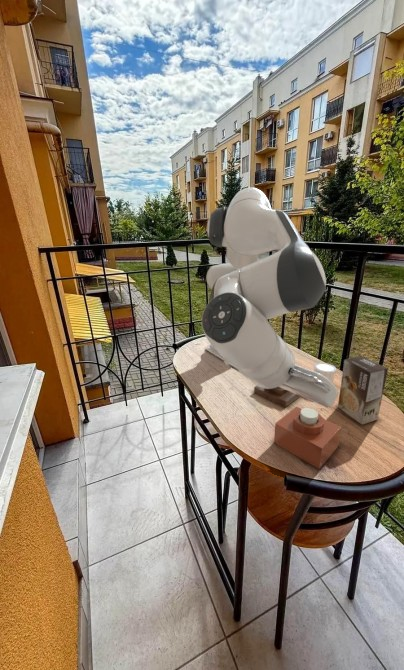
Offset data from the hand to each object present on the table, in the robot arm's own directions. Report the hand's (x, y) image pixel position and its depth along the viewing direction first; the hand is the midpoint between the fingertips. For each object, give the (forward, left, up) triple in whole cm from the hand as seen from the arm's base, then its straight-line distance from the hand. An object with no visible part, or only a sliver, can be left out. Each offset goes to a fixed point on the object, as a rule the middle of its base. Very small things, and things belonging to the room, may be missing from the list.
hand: (292, 388), depth 58 cm
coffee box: (+4, +30, -20) cm, 37 cm away
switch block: (-18, +23, -20) cm, 36 cm away
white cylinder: (-10, +38, -20) cm, 45 cm away
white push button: (0, +8, -13) cm, 15 cm away
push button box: (0, +8, -20) cm, 22 cm away
